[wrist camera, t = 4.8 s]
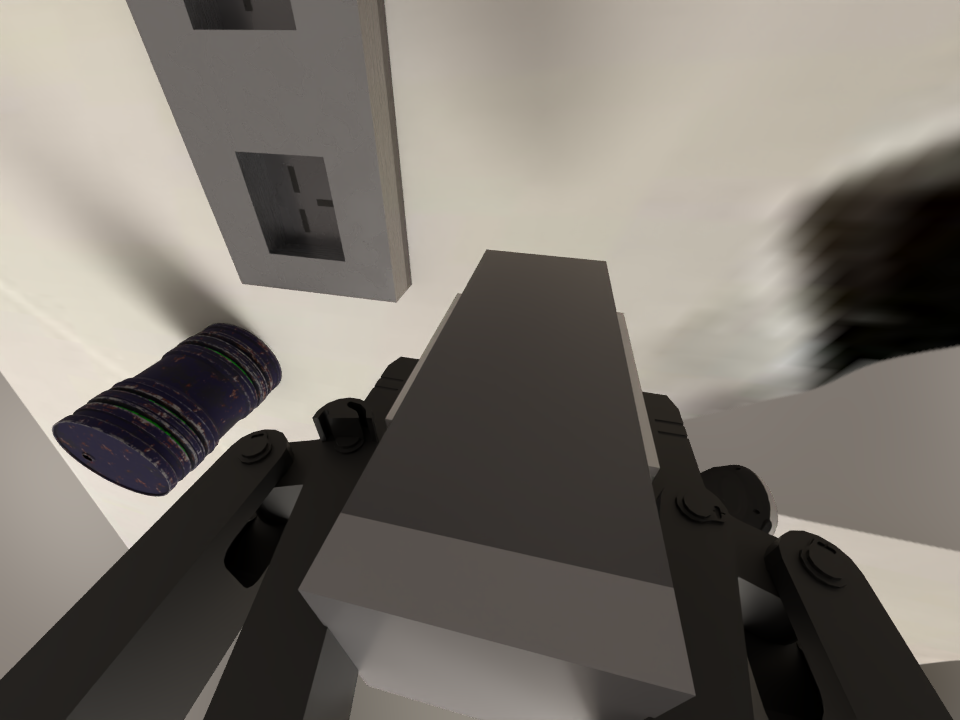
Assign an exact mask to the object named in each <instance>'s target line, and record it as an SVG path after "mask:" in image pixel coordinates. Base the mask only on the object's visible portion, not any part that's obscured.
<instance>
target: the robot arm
mask: <svg viewBox="0 0 960 720" xmlns="http://www.w3.org/2000/svg"><path fill="white" fill-rule="evenodd" d="M461 295H462V294H459V293H457V295H456V297H455V299H454V300H453V302H452V304H451V306H450V307H449V309H448V311H447V312H446V314H445V316H444V318H443V319H442V321H441V323H440V325H439V326H438V328H437V330H436V332H435V333H434V335H433V337H432V338H431V340H430V342H429V344H428V345H427V347H426V349H425V351H424V352H423V354H422V356H421V358H420V359H413V358H406V357H400V358H398V359H397V360H395V361H394V362H393V363H391V364H390V365H388V367H387V368H386V370H385V371H384V373H383V374H382V376H381V379H379V380H378V381H377V383H376V384H375V387H374V388H373V389H372V390H371V392H370V393H369V395H368V396H367V398H366V399H365V401H363V400H361V399H356V398H343V399H338V400H335V401H332V402H330V403H327V404H326V405H325V406H323V407H322V408H320V409H319V410H318V411H317V412H316V414H315V415H314V416H313V421H314V423H315V426H316V429H317V431H318V434H319V436H320V439H318V440H310V441H299V442H288V440H287V439H286V437H285V436H284V434H283V433H281V432H279V431H277V430H261V431H256V432H253V433H251V434H248V435H246V436H244V437H242V438H241V439H239V440H238V441H237V442H236V443H234V444H233V445H232V446H231V447H230V448H229V449H228V450H227V451H226V452H225V453H224V454H223V455H222V456H221V457H220V458H219V459H218V460H217V461H216V462H215V463H214V464H213V465H212V466H211V467H210V468H209V469H208V470H207V471H206V472H205V473H204V474H203V475H202V476H201V477H200V478H199V479H198V480H197V481H196V482H195V483H194V484H193V485H192V486H191V487H190V488H189V489H188V490H187V491H186V492H185V493H184V494H183V495H182V496H181V497H180V498H179V499H178V500H177V501H176V502H175V504H174V505H173V506H172V507H171V508H170V509H169V510H168V511H167V512H166V513H165V514H164V515H163V516H162V517H161V518H160V519H159V520H158V521H157V522H156V523H155V524H154V525H153V526H152V527H151V528H150V529H149V530H148V531H147V532H146V533H145V534H144V535H143V536H142V537H141V538H140V539H139V540H138V541H137V542H136V543H135V544H134V545H133V546H132V547H131V548H130V549H129V550H128V551H127V552H126V553H125V554H124V555H123V556H122V557H121V558H120V559H119V560H118V561H117V562H116V563H115V564H114V565H113V566H112V567H111V568H110V569H109V570H108V571H107V572H106V574H104V575H103V576H102V577H101V578H100V580H98V582H97V583H96V584H95V585H94V586H93V587H92V588H91V589H90V590H89V591H88V592H87V593H86V594H85V595H84V596H83V597H82V598H81V599H80V600H79V601H78V602H77V603H76V604H75V605H74V606H73V607H72V608H71V609H70V610H69V611H68V612H67V613H66V614H65V615H64V616H63V617H62V618H61V619H60V620H59V621H58V622H57V623H56V624H55V625H54V626H53V627H52V628H51V629H50V630H49V631H48V632H47V633H46V634H45V635H44V636H43V637H42V638H41V639H40V640H39V641H38V642H37V643H36V645H34V647H32V648H31V650H29V651H28V653H26V655H24V657H22V658H21V660H20V661H19V662H18V663H17V664H16V665H15V666H14V667H13V668H12V669H11V670H10V671H9V672H8V673H7V674H6V675H5V676H4V677H3V678H2V679H1V680H0V720H184V719H185V717H186V715H187V714H188V712H189V711H190V709H191V708H192V706H193V704H194V703H195V701H196V699H197V698H198V696H199V695H200V693H201V692H202V690H203V688H204V686H205V685H206V684H207V682H208V681H209V679H210V677H211V676H212V674H213V673H214V671H215V669H216V668H217V666H218V665H219V663H220V661H221V660H222V658H223V657H224V655H225V653H226V652H227V650H228V649H229V647H230V646H231V644H232V642H233V641H234V639H235V638H236V636H237V635H238V633H239V631H240V630H241V628H242V630H241V632H240V635H239V637H238V639H237V642H236V644H235V646H234V649H233V651H232V654H231V656H230V658H229V660H228V663H227V665H226V668H225V670H224V672H223V674H222V677H221V679H220V682H219V684H218V686H217V689H216V691H215V693H214V696H213V698H212V700H211V703H210V705H209V707H208V710H207V712H206V714H205V717H204V719H203V720H349V717H350V712H351V708H352V702H353V697H354V692H355V687H356V682H357V677H358V671H359V670H358V669H357V667H356V666H355V664H354V663H353V662H352V660H351V659H350V657H349V656H348V655H347V653H346V652H345V650H344V649H343V648H342V646H341V645H340V643H339V642H338V641H337V639H336V638H335V636H334V635H333V633H332V632H331V631H330V629H329V628H328V627H327V626H324V625H323V624H322V622H321V621H320V619H319V618H318V617H317V615H316V614H315V613H314V611H313V610H312V608H311V607H310V606H309V604H308V603H307V601H306V600H305V599H304V597H303V596H302V595H301V593H300V592H299V590H298V589H299V587H300V585H301V583H302V581H303V579H304V578H305V576H306V574H307V572H308V570H309V569H310V567H311V565H312V563H313V561H314V560H315V558H316V556H317V554H318V552H319V551H320V549H321V547H322V545H323V543H324V542H325V540H326V538H327V536H328V534H329V533H330V531H331V529H332V527H333V525H334V524H335V522H336V520H337V518H338V516H339V515H340V513H341V511H342V509H343V507H344V506H345V504H346V502H347V500H348V498H349V497H350V495H351V493H352V491H353V489H354V488H355V486H356V484H357V482H358V480H359V479H360V477H361V475H362V473H363V471H364V470H365V468H366V466H367V464H368V462H369V461H370V459H371V457H372V455H373V453H374V452H375V450H376V448H377V446H378V444H379V442H380V441H381V439H382V437H383V435H384V433H385V432H386V430H387V428H388V426H389V424H390V423H391V421H392V419H393V417H394V415H395V414H396V412H397V410H398V408H399V406H400V405H401V403H402V401H403V399H404V397H405V396H406V394H407V392H408V390H409V388H410V387H411V385H412V383H413V381H414V379H415V378H416V376H417V374H418V372H419V370H420V369H421V367H422V365H423V363H424V361H425V360H426V358H427V356H428V354H429V352H430V351H431V349H432V347H433V345H434V343H435V342H436V340H437V338H438V336H439V334H440V333H441V331H442V329H443V327H444V325H445V324H446V322H447V320H448V318H449V316H450V315H451V313H452V311H453V309H454V307H455V306H456V304H457V302H458V300H459V298H460V296H461ZM617 317H618V322H619V327H620V331H621V336H622V341H623V346H624V351H625V356H626V360H627V365H628V370H629V375H630V380H631V385H632V389H633V394H634V399H635V404H636V409H637V414H638V419H639V423H640V428H641V433H642V438H643V443H644V448H645V452H646V457H647V462H648V467H649V472H650V477H651V481H652V486H653V491H654V496H655V501H656V506H657V510H658V515H659V520H660V525H661V530H662V535H663V540H664V544H665V549H666V554H667V559H668V564H669V569H670V573H671V578H672V583H673V588H674V593H675V598H676V602H677V607H678V612H679V617H680V622H681V627H682V631H683V636H684V641H685V646H686V651H687V656H688V660H689V665H690V670H691V675H692V680H693V685H694V690H695V694H696V696H694V697H692V698H691V699H689V700H687V701H685V702H683V703H681V704H680V705H678V706H676V707H674V708H672V709H670V710H668V711H667V712H665V713H663V714H661V715H659V716H657V717H656V718H652V717H647V718H646V719H644V720H953V719H952V717H951V716H950V714H949V712H948V711H947V709H946V707H945V706H944V704H943V702H942V701H941V700H940V698H939V696H938V694H937V693H936V691H935V690H934V688H933V686H932V685H931V683H930V682H929V680H928V678H927V677H926V675H925V673H924V672H923V670H922V669H921V667H920V665H919V664H918V662H917V660H916V659H915V657H914V656H913V654H912V652H911V651H910V649H909V648H908V646H907V644H906V643H905V641H904V639H903V638H902V636H901V635H900V633H899V631H898V630H897V628H896V627H895V625H894V623H893V622H892V620H891V618H890V617H889V615H888V614H887V612H886V610H885V609H884V607H883V606H882V604H881V602H880V601H879V599H878V597H877V596H876V594H875V593H874V591H873V589H872V588H871V586H870V585H869V583H868V581H867V580H866V578H865V576H864V575H863V573H862V572H861V571H860V570H859V568H858V567H857V566H856V565H855V563H854V562H853V561H852V560H851V558H849V557H848V556H847V555H846V554H845V553H844V552H842V551H841V550H840V549H839V548H838V547H836V546H835V545H834V544H832V543H830V542H828V541H827V540H825V539H823V538H821V537H820V536H818V535H814V534H811V533H808V532H805V531H788V532H787V533H785V534H783V535H782V536H780V537H779V538H777V537H775V536H772V535H770V534H768V533H766V532H764V531H761V530H759V529H757V528H755V527H753V526H750V525H748V524H746V523H744V522H742V521H740V520H738V519H736V518H735V517H733V516H731V515H730V514H729V513H728V510H727V508H726V507H725V506H724V504H723V503H722V502H721V500H720V499H719V498H718V497H717V496H715V495H714V494H713V493H712V492H710V491H709V490H708V489H706V488H705V485H704V483H703V480H702V477H701V474H700V471H699V469H698V465H697V462H696V459H695V457H694V454H693V451H692V448H691V445H690V442H689V439H687V433H686V430H685V427H684V426H683V421H682V418H681V415H680V412H679V409H678V408H677V407H676V406H675V405H674V403H673V402H672V401H671V400H670V399H669V398H668V396H667V395H660V394H653V393H647V392H642V390H641V385H640V381H639V377H638V373H637V368H636V364H635V360H634V356H633V351H632V347H631V343H630V339H629V334H628V330H627V326H626V322H625V317H624V313H619V312H617Z"/></svg>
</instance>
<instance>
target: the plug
mask: <svg viewBox="0 0 960 720" xmlns="http://www.w3.org/2000/svg"><path fill="white" fill-rule="evenodd" d="M298 590H299V592H300V593H301V595H302V596H303V597H304V599H305V600H306V601H307V603H308V604H309V606H310V607H311V608H312V610H313V611H314V613H315V614H316V615H317V617H318V618H319V619H320V621H321V622H322V624H323V625H324V626H327V627H328V628H329V629H330V631H331V632H332V633H333V635H334V636H335V638H336V639H337V641H338V642H339V643H340V645H341V646H342V648H343V649H344V650H345V652H346V653H347V655H348V656H349V657H350V659H351V660H352V662H353V663H354V664H355V666H356V667H357V669H358V670H359V671H358V673H359V675H360V676H361V677H362V679H363V680H364V682H365V683H366V684H367V686H370V687H373V688H376V689H380V690H383V691H386V692H390V693H393V694H396V695H400V696H403V697H406V698H409V699H413V700H416V701H419V702H423V703H426V704H429V705H433V706H436V707H439V708H443V709H446V710H449V711H453V712H456V713H459V714H463V715H466V716H469V717H472V718H476V719H479V720H644V719H646V718H647V717H652V718H656V717H657V716H659V715H661V714H663V713H665V712H667V711H668V710H670V709H672V708H674V707H676V706H678V705H680V704H681V703H683V702H685V701H687V700H689V699H691V698H692V697H694V696H696V694H695V690H694V685H693V680H692V675H691V670H690V665H689V660H688V656H687V651H686V646H685V641H684V636H683V631H682V627H681V622H680V617H679V612H678V607H677V602H676V598H675V593H674V588H673V583H672V578H671V573H670V569H669V564H668V559H667V554H666V549H665V544H664V540H663V535H662V530H661V525H660V520H659V515H658V510H657V506H656V501H655V496H654V491H653V486H652V481H651V477H650V472H649V467H648V462H647V457H646V452H645V448H644V443H643V438H642V433H641V428H640V423H639V419H638V414H637V409H636V404H635V399H634V394H633V389H632V385H631V380H630V375H629V370H628V365H627V360H626V356H625V351H624V346H623V341H622V336H621V331H620V327H619V322H618V317H617V312H616V307H615V302H614V298H613V293H612V288H611V283H610V278H609V273H608V268H607V264H606V261H597V260H587V259H577V258H566V257H556V256H546V255H536V254H526V253H516V252H506V251H496V250H486V251H485V253H484V255H483V257H482V259H481V260H480V262H479V264H478V266H477V268H476V269H475V271H474V273H473V275H472V277H471V278H470V280H469V282H468V284H467V286H466V287H465V289H464V291H463V293H462V295H461V296H460V298H459V300H458V302H457V304H456V306H455V307H454V309H453V311H452V313H451V315H450V316H449V318H448V320H447V322H446V324H445V325H444V327H443V329H442V331H441V333H440V334H439V336H438V338H437V340H436V342H435V343H434V345H433V347H432V349H431V351H430V352H429V354H428V356H427V358H426V360H425V361H424V363H423V365H422V367H421V369H420V370H419V372H418V374H417V376H416V378H415V379H414V381H413V383H412V385H411V387H410V388H409V390H408V392H407V394H406V396H405V397H404V399H403V401H402V403H401V405H400V406H399V408H398V410H397V412H396V414H395V415H394V417H393V419H392V421H391V423H390V424H389V426H388V428H387V430H386V432H385V433H384V435H383V437H382V439H381V441H380V442H379V444H378V446H377V448H376V450H375V452H374V453H373V455H372V457H371V459H370V461H369V462H368V464H367V466H366V468H365V470H364V471H363V473H362V475H361V477H360V479H359V480H358V482H357V484H356V486H355V488H354V489H353V491H352V493H351V495H350V497H349V498H348V500H347V502H346V504H345V506H344V507H343V509H342V511H341V513H340V515H339V516H338V518H337V520H336V522H335V524H334V525H333V527H332V529H331V531H330V533H329V534H328V536H327V538H326V540H325V542H324V543H323V545H322V547H321V549H320V551H319V552H318V554H317V556H316V558H315V560H314V561H313V563H312V565H311V567H310V569H309V570H308V572H307V574H306V576H305V578H304V579H303V581H302V583H301V585H300V587H299V589H298Z"/></svg>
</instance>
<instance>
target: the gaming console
mask: <svg viewBox="0 0 960 720" xmlns="http://www.w3.org/2000/svg"><path fill="white" fill-rule="evenodd" d="M700 474H701V477H702V480H703V483H704V485H705V488H706V489H708V490H709V491H710V492H712V493H713V494H714V495H715V496H717V497H718V498H719V499H720V500H721V502H722V503H723V504H724V506H725V507H726V508H727V510H728V513H729V514H730V515H731V516H733V517H735V518H736V519H738V520H740V521H742V522H744V523H746V524H748V525H750V526H753V527H755V528H757V529H759V530H761V531H764V532H766V533H768V534H770V535H772V536H773V534H774V532H775V530H776V527H777V523H778V512H777V506H776V503H775V500H774V497H773V495H772V493H771V491H770V489H769V488H768V486H767V485H766V483H765V482H764V481H763V480H762V479H761V478H760V477H759V476H757V475H756V474H755V473H754V472H752V471H751V470H750V469H748V468H746V467H743V466H740V465H728V466H721V467H713V468H711V469H708V470H706V471H704V472H702V473H700Z"/></svg>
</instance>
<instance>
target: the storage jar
mask: <svg viewBox="0 0 960 720" xmlns="http://www.w3.org/2000/svg"><path fill="white" fill-rule="evenodd" d="M281 378H282V371H281V367H280V365H279V362H278V360H277V358H276V357H275V355H274V354H273V353H272V351H271V350H270V349H269V348H268V347H267V346H266V345H265V344H264V343H263V342H262V341H261V340H260V339H258V338H257V337H256V336H254V335H253V334H251V333H250V332H248V331H246V330H244V329H242V328H240V327H237V326H234V325H231V324H225V323H217V324H213V325H211V326H209V327H207V328H205V329H204V330H203V331H202V332H200V333H198V334H196V335H194V336H192V337H189V338H188V339H186V340H184V341H183V342H181V343H180V344H179V345H177V347H175V348H174V349H172V350H170V351H169V352H167V353H166V354H165V355H164V356H163V357H162V359H161V360H160V361H158V362H157V363H155V364H154V365H152V366H151V367H149V368H147V369H146V370H144V371H143V372H141V373H140V374H138V375H136V376H135V377H133V378H128V379H125V380H123V381H122V382H119V383H116V384H115V385H114V386H113V387H112V388H111V389H109V390H107V391H104V392H102V393H101V394H99V395H97V396H96V397H94V398H93V399H91V400H90V401H89V402H88V403H87V404H86V405H84V406H82V407H81V408H79V409H78V410H76V411H75V412H74V413H73V415H69V416H67V417H65V418H63V419H62V420H60V421H59V422H57V423H56V424H54V426H53V428H52V432H53V435H54V437H55V439H56V440H57V442H58V443H59V444H60V446H61V447H62V448H63V449H64V450H65V451H66V452H67V453H68V454H69V455H71V456H72V457H73V458H74V459H75V460H77V461H78V462H79V463H81V464H82V465H83V466H85V467H86V468H88V469H89V470H91V471H92V472H94V473H96V474H97V475H99V476H101V477H102V478H104V479H106V480H108V481H110V482H112V483H114V484H116V485H118V486H121V487H123V488H125V489H128V490H131V491H133V492H136V493H140V494H144V495H148V496H164V495H167V494H168V493H169V492H170V491H171V490H172V489H173V488H174V487H175V486H176V485H177V482H179V481H181V480H182V479H183V478H184V477H185V476H186V475H187V474H188V473H189V472H191V471H193V470H194V469H195V468H196V467H197V466H198V465H199V464H200V463H201V462H202V461H203V460H204V458H205V457H206V456H207V455H208V454H210V453H211V452H212V451H213V450H214V448H215V447H216V446H217V445H218V442H219V439H220V438H221V437H222V436H223V435H224V434H225V433H226V432H228V431H229V430H230V429H231V428H232V427H233V426H234V425H235V424H236V423H237V422H238V421H239V420H241V419H243V418H245V417H246V416H247V415H248V414H250V413H251V412H252V411H253V409H255V408H257V407H258V406H259V405H260V404H261V403H262V402H263V401H264V400H265V398H266V396H267V395H268V394H269V393H270V392H271V390H273V389H274V388H275V387H276V386H277V385H278V384H279V383H280V381H281Z"/></svg>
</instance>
